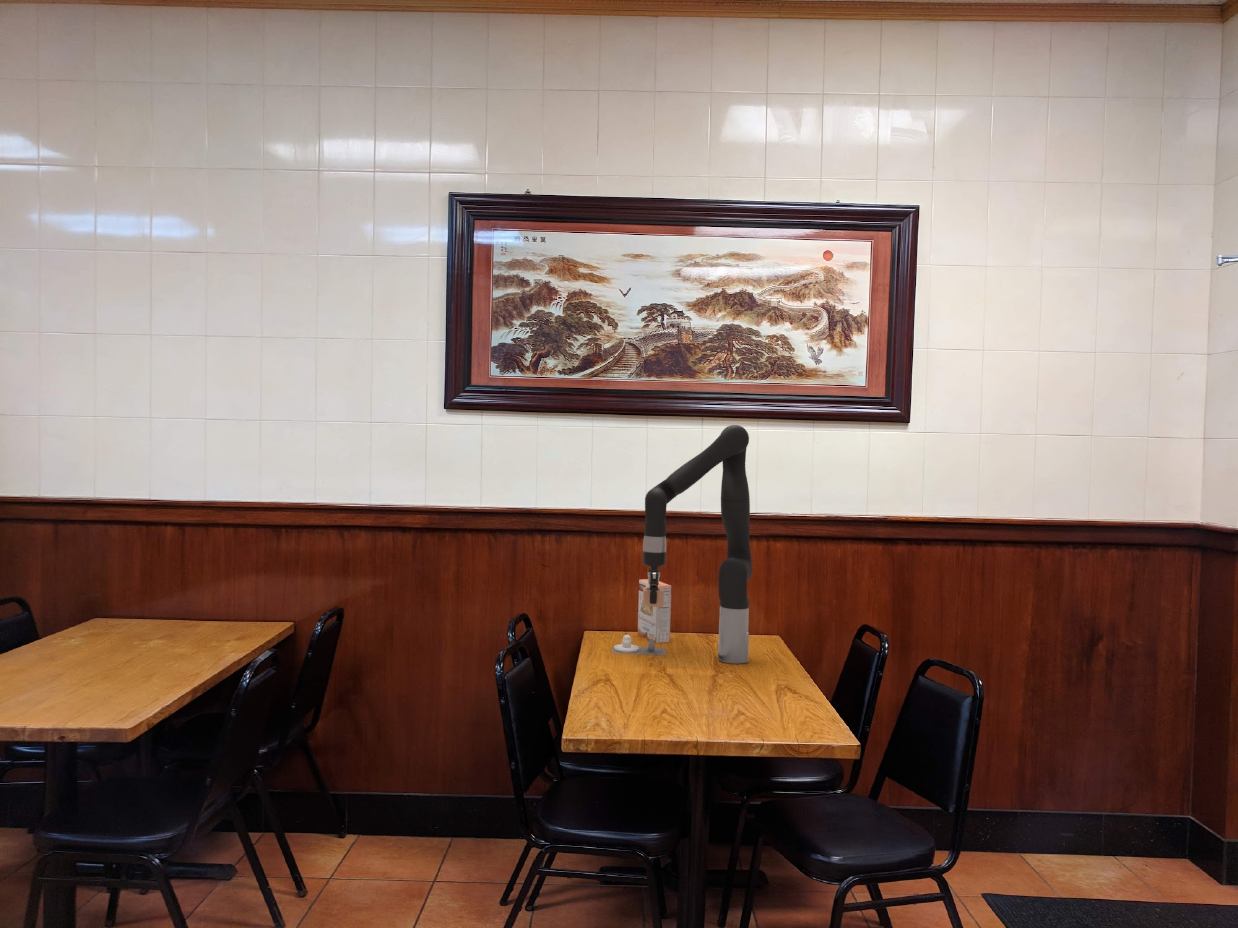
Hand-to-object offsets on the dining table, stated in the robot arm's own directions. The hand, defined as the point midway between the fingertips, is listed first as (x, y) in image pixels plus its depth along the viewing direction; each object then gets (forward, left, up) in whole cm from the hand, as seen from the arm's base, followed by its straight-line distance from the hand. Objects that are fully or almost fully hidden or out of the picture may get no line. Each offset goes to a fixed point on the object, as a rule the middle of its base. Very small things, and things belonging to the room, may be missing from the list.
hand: (652, 601), depth 263 cm
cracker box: (-1, -19, -18) cm, 26 cm away
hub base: (+4, 0, -18) cm, 18 cm away
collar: (0, 0, -1) cm, 1 cm away
